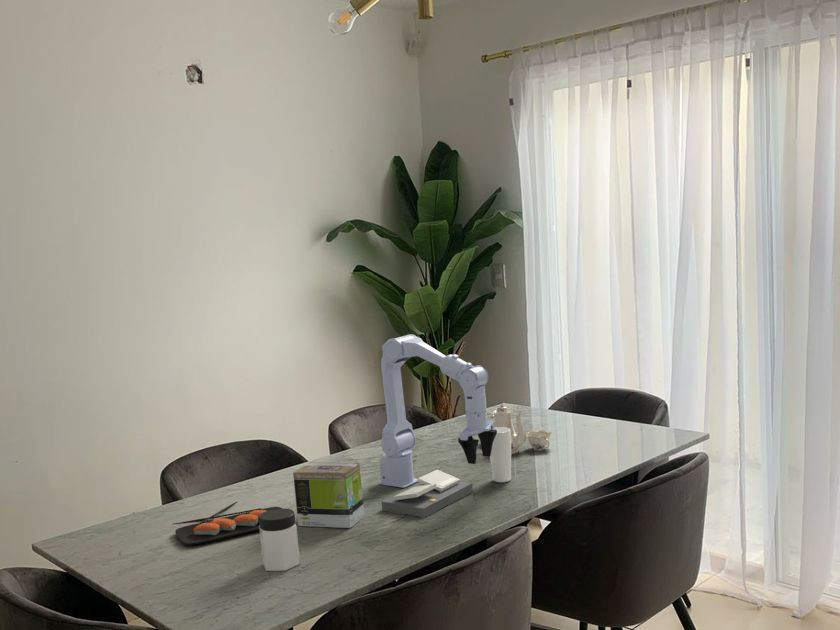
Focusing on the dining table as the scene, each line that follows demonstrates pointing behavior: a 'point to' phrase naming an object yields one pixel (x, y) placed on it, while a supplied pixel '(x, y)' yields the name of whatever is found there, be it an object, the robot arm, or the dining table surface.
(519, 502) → the dining table surface
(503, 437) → the drinking glass
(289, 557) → the jar
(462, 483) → the switch panel
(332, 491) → the tea box
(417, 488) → the switch
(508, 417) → the chinaware
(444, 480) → the switch
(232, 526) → the sushi plate
